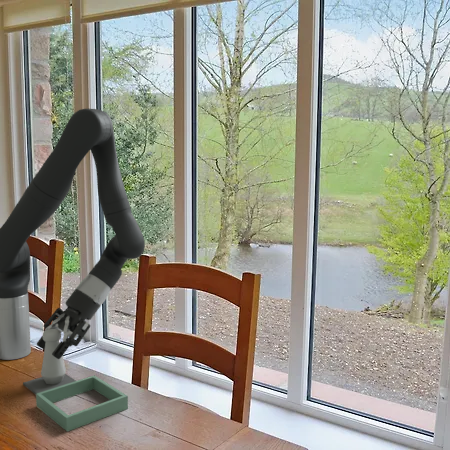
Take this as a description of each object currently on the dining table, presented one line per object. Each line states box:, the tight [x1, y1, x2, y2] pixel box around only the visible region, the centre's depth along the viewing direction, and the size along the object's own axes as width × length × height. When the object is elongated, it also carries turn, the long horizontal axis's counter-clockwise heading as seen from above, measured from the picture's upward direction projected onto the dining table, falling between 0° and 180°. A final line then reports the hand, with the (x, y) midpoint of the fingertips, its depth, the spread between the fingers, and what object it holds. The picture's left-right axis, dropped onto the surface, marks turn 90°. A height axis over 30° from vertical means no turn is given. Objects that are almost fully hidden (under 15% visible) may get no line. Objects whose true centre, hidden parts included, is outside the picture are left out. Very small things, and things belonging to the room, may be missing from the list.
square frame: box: [35, 375, 129, 432], centre depth 123 cm, size 15×15×3 cm
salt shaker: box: [40, 329, 67, 385], centre depth 134 cm, size 6×6×13 cm
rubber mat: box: [22, 373, 77, 396], centre depth 134 cm, size 10×10×1 cm
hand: (47, 352), depth 132 cm, fingers open, 8 cm apart
